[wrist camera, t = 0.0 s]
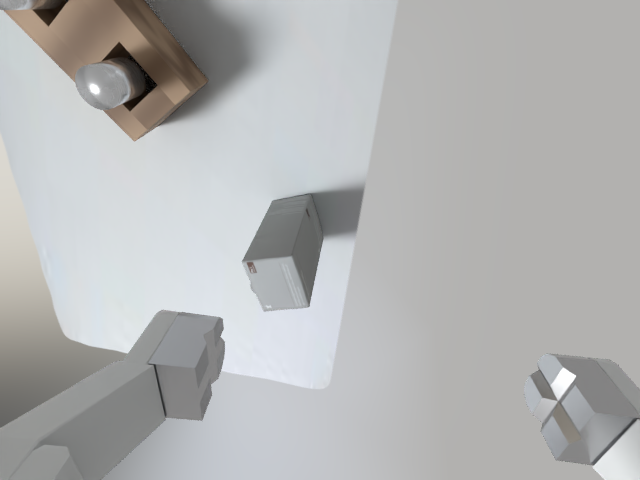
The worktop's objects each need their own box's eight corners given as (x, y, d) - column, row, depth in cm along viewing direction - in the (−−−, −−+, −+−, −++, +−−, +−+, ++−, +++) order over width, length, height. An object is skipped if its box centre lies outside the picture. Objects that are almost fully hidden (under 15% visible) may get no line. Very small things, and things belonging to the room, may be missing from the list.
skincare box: (324, 236, 54) (317, 310, 41) (282, 243, 55) (262, 316, 43) (311, 190, 49) (298, 256, 37) (265, 198, 51) (238, 265, 38)
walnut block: (12, -29, 36) (-40, -33, 32) (60, -105, 33) (10, -123, 28) (157, 126, 45) (134, 141, 40) (208, 81, 42) (190, 91, 37)
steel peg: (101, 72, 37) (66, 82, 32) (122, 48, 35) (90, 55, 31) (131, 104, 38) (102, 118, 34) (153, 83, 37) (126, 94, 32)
